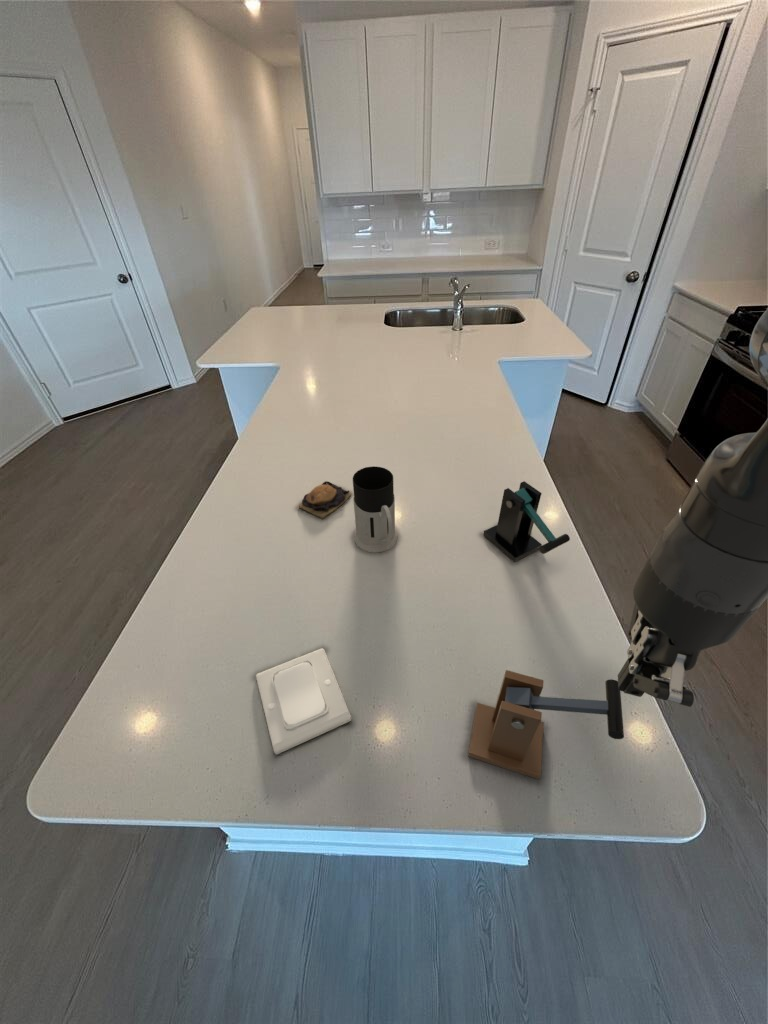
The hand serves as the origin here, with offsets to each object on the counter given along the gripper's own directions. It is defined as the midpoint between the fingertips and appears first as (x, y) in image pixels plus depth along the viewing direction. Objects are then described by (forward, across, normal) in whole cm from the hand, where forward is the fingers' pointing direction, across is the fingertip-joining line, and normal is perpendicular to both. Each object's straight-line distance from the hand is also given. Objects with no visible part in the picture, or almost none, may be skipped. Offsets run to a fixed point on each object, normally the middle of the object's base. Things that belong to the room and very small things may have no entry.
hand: (628, 686), depth 44 cm
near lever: (+8, 0, +4) cm, 9 cm away
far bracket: (+20, +39, +12) cm, 45 cm away
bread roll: (+20, +40, +54) cm, 70 cm away
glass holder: (+20, +30, +37) cm, 52 cm away
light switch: (+20, -3, +38) cm, 43 cm away
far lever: (+12, +37, +10) cm, 40 cm away
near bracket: (+20, 0, +9) cm, 22 cm away
